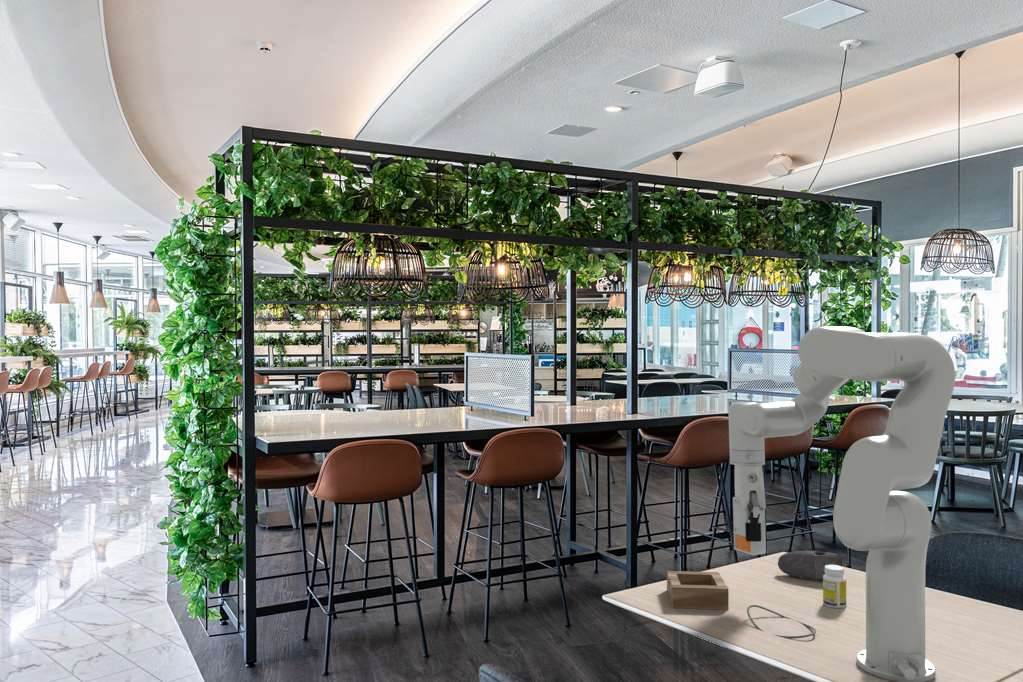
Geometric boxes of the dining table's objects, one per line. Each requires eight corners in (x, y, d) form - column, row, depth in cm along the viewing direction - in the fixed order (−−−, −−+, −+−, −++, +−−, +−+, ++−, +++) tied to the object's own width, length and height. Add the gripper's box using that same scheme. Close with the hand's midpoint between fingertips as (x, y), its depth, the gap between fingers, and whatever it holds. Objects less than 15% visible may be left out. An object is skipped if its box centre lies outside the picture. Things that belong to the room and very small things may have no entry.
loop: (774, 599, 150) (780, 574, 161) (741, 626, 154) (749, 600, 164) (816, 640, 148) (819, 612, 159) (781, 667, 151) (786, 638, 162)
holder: (728, 609, 166) (728, 588, 166) (672, 607, 167) (672, 587, 167) (718, 591, 178) (718, 572, 178) (666, 590, 179) (666, 570, 179)
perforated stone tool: (775, 577, 189) (775, 549, 189) (779, 571, 194) (779, 544, 194) (841, 586, 182) (840, 557, 182) (843, 580, 186) (843, 552, 186)
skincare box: (733, 550, 172) (731, 496, 172) (747, 548, 173) (746, 495, 174) (752, 556, 166) (750, 500, 166) (767, 553, 168) (765, 499, 168)
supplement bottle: (842, 601, 171) (842, 564, 171) (849, 609, 166) (849, 570, 166) (820, 601, 171) (820, 563, 171) (826, 608, 167) (826, 570, 167)
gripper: (773, 462, 161) (776, 546, 161) (755, 452, 179) (757, 529, 178) (737, 462, 162) (740, 546, 162) (723, 453, 179) (725, 528, 179)
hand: (749, 536), depth 170 cm, fingers closed on skincare box, 7 cm apart
